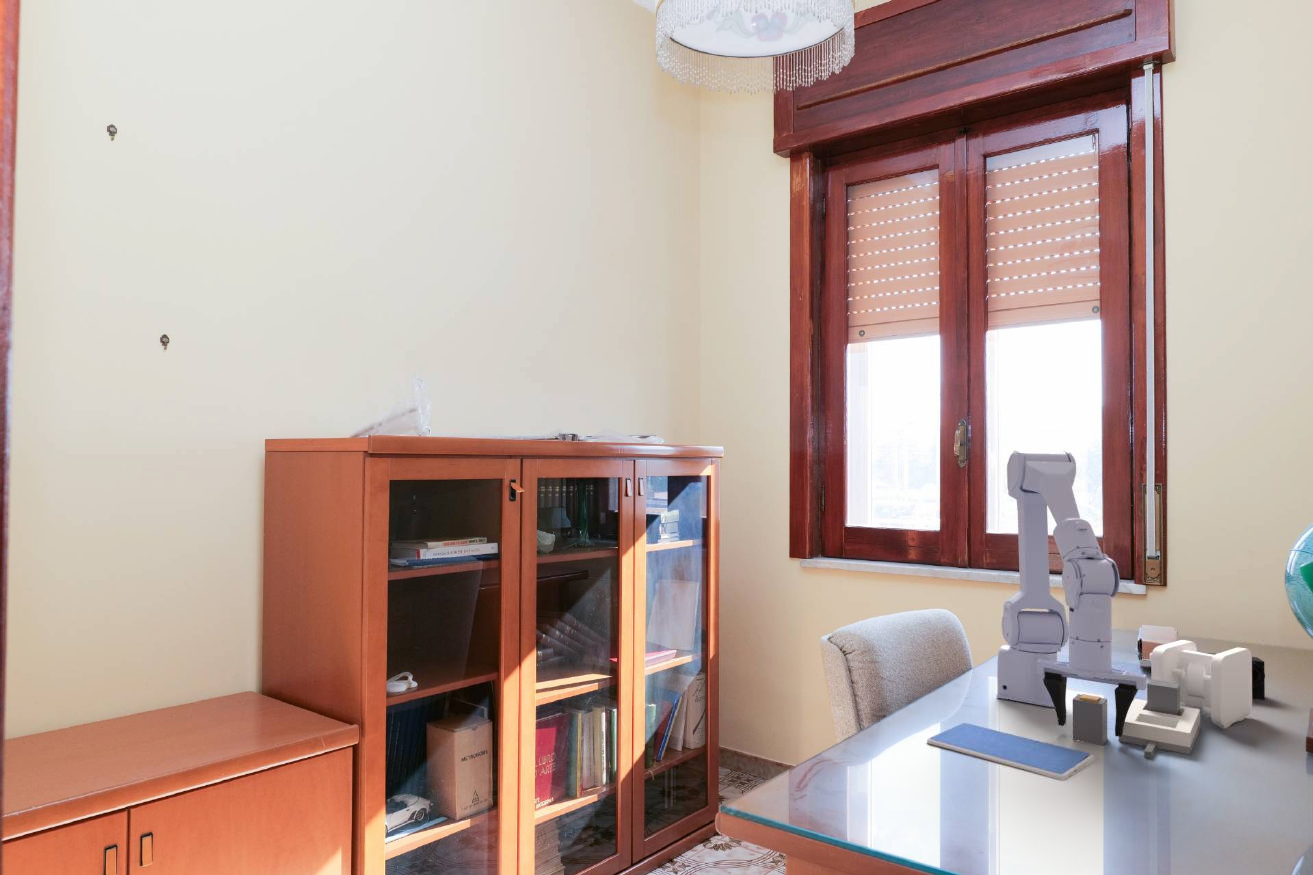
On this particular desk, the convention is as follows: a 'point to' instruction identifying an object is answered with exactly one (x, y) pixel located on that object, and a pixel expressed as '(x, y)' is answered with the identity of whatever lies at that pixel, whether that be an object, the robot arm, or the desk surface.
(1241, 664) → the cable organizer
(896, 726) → the desk surface
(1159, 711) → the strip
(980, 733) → the tablet computer
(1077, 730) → the plug
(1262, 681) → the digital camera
